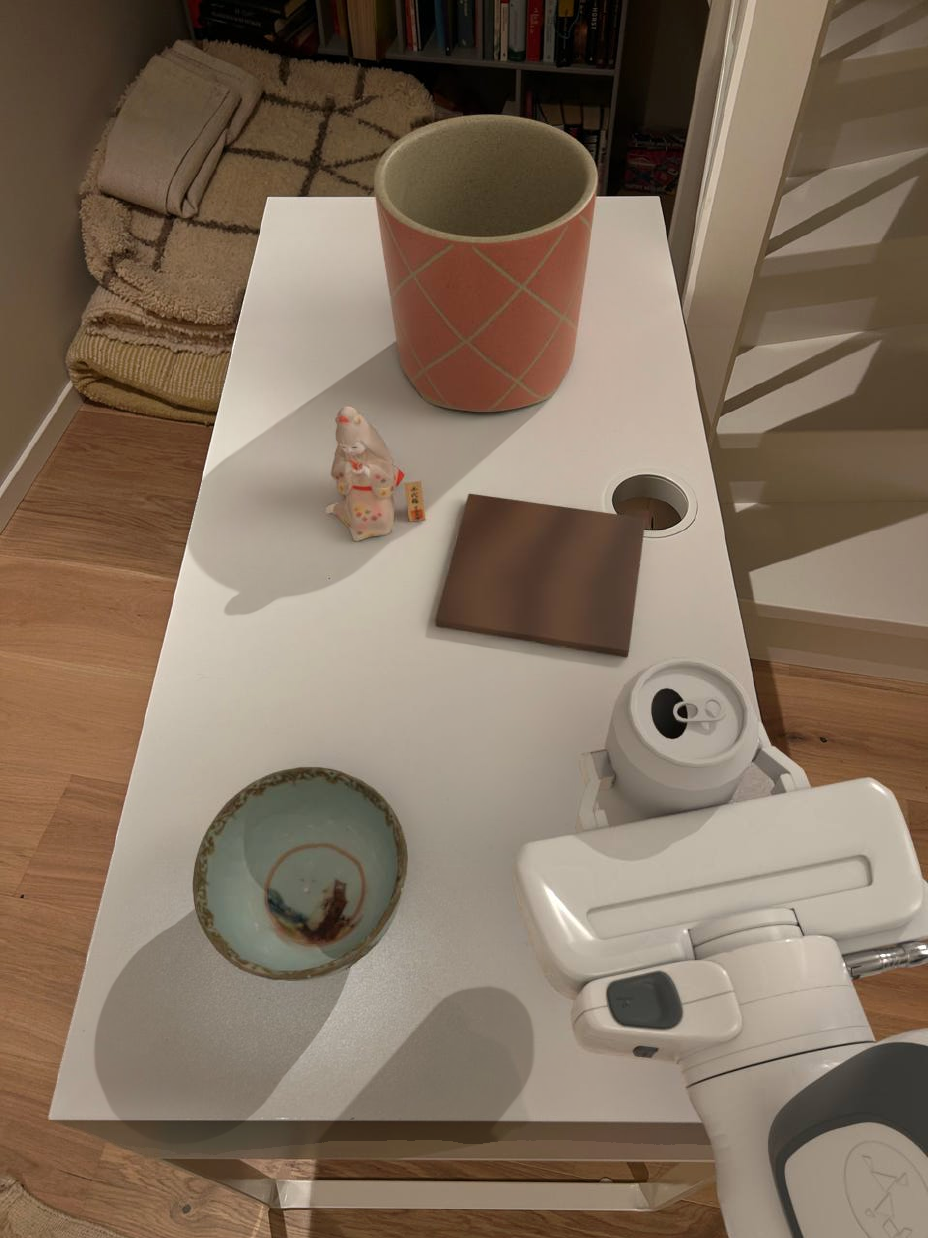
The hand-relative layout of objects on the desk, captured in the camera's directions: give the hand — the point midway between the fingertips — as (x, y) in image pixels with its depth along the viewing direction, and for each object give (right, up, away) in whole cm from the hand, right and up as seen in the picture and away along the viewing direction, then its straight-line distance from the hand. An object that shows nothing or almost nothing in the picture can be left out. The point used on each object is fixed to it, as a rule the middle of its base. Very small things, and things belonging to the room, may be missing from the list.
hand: (668, 741), depth 51 cm
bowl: (-22, -13, +13) cm, 29 cm away
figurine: (-19, +16, +33) cm, 41 cm away
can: (0, -4, +5) cm, 7 cm away
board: (-5, +11, +28) cm, 31 cm away
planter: (-9, +33, +44) cm, 56 cm away
